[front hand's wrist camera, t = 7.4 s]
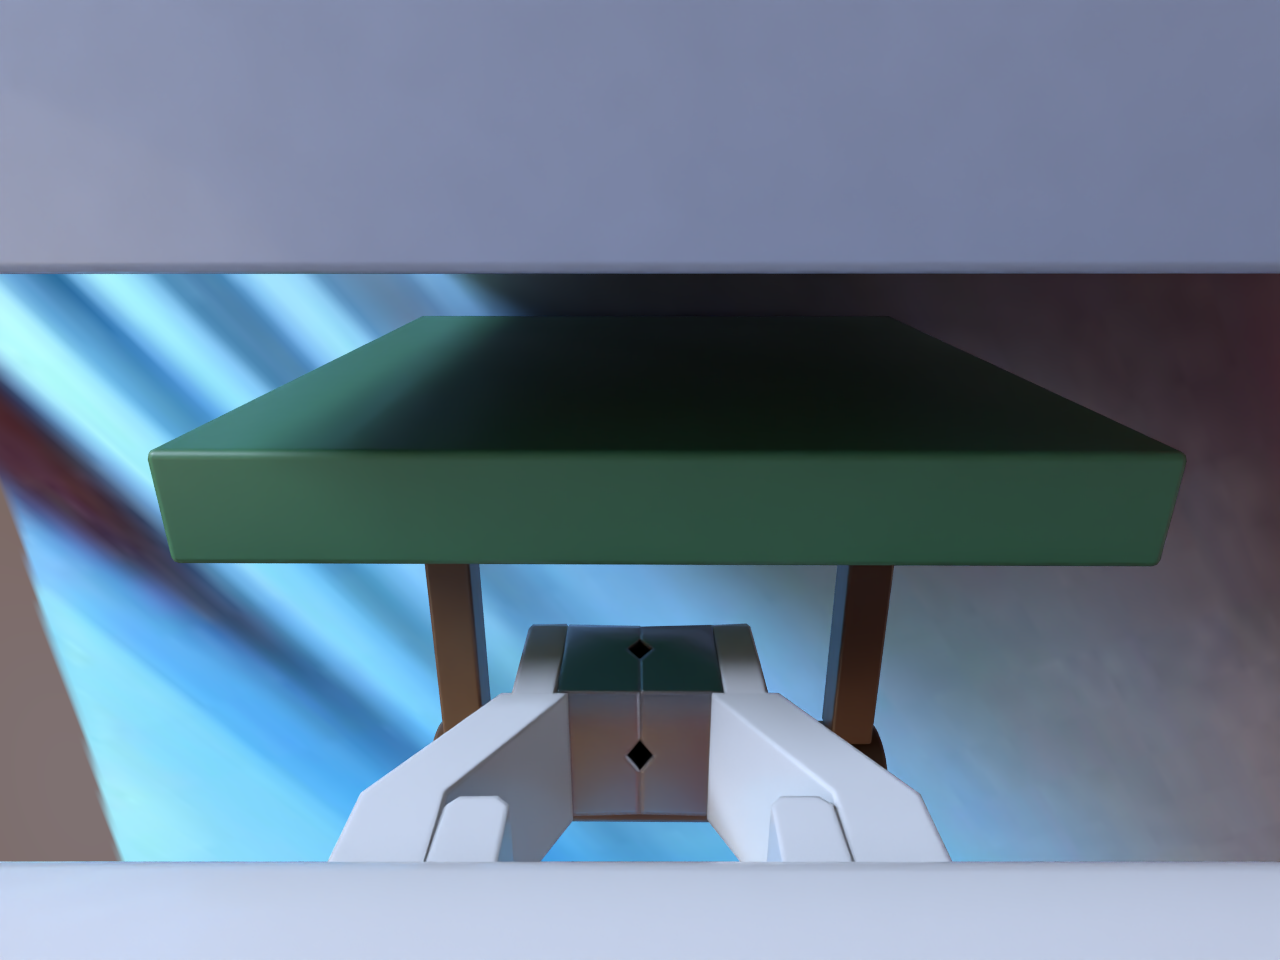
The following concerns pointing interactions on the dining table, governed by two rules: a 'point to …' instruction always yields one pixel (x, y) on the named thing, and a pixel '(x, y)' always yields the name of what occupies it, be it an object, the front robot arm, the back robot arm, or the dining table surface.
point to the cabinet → (639, 136)
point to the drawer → (666, 469)
